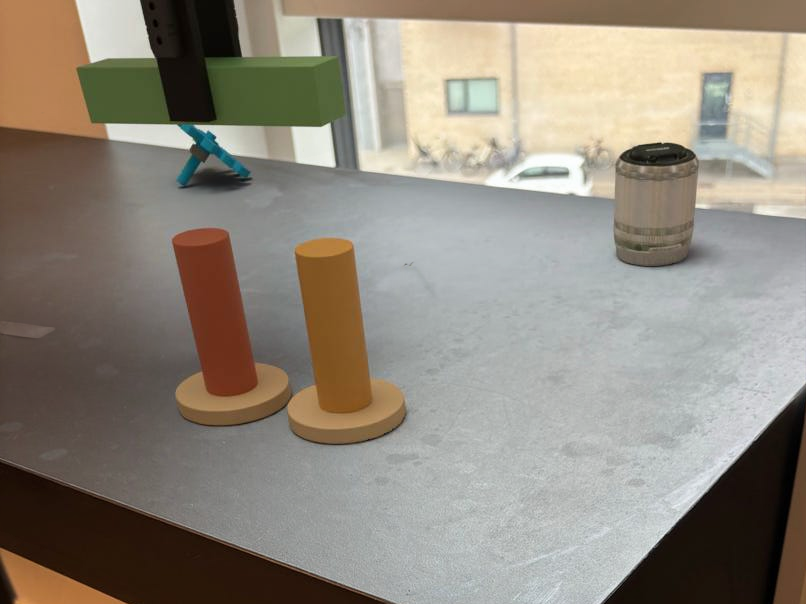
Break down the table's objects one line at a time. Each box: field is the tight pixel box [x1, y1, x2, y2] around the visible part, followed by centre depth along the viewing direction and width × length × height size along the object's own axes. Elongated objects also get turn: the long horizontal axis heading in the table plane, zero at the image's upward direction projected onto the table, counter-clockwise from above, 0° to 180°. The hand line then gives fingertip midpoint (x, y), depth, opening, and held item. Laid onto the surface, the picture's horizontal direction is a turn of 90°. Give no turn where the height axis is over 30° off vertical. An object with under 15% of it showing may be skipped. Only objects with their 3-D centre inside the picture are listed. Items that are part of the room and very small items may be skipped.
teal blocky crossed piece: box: [176, 125, 251, 188], centre depth 104 cm, size 11×6×10 cm
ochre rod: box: [286, 237, 407, 445], centre depth 58 cm, size 7×7×10 cm
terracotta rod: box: [171, 227, 292, 426], centre depth 60 cm, size 7×7×10 cm
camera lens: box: [613, 141, 700, 267], centre depth 79 cm, size 6×6×8 cm
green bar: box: [75, 55, 347, 128], centre depth 59 cm, size 16×3×3 cm, turn 68°
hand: (211, 112), depth 60 cm, fingers closed on green bar, 3 cm apart
